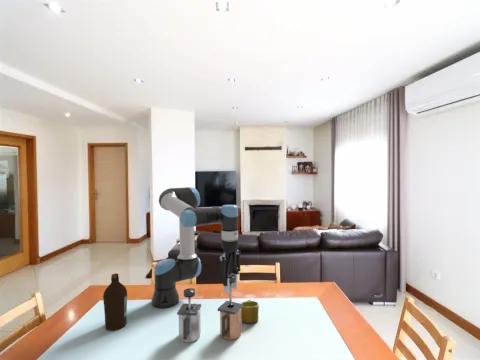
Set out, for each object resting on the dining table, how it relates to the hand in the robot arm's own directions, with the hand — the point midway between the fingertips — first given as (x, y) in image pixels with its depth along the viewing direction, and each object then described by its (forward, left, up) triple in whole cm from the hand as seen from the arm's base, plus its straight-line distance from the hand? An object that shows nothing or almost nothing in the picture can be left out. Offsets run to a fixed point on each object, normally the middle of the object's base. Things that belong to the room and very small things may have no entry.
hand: (230, 290), depth 131 cm
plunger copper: (0, 0, -12) cm, 12 cm away
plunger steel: (-14, -12, -18) cm, 26 cm away
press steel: (-13, -13, -20) cm, 28 cm away
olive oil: (-50, -26, -21) cm, 60 cm away
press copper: (0, -1, -20) cm, 20 cm away
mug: (-1, +17, -21) cm, 27 cm away
